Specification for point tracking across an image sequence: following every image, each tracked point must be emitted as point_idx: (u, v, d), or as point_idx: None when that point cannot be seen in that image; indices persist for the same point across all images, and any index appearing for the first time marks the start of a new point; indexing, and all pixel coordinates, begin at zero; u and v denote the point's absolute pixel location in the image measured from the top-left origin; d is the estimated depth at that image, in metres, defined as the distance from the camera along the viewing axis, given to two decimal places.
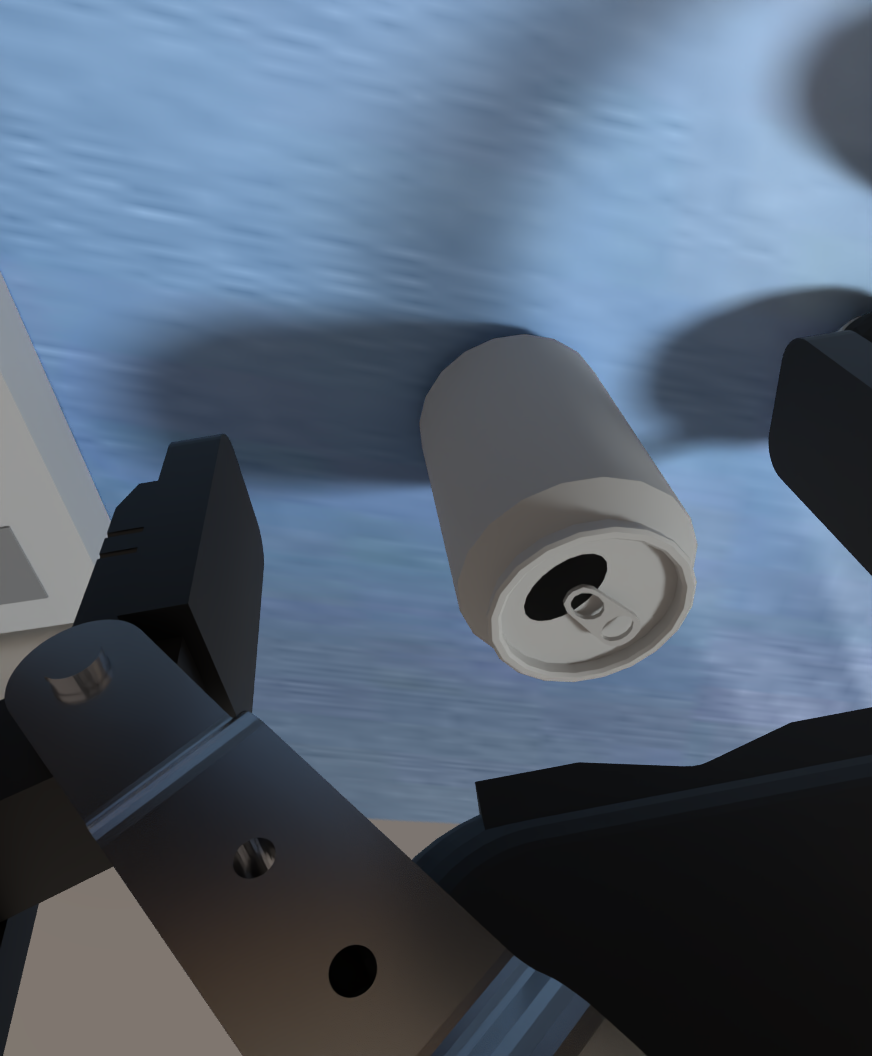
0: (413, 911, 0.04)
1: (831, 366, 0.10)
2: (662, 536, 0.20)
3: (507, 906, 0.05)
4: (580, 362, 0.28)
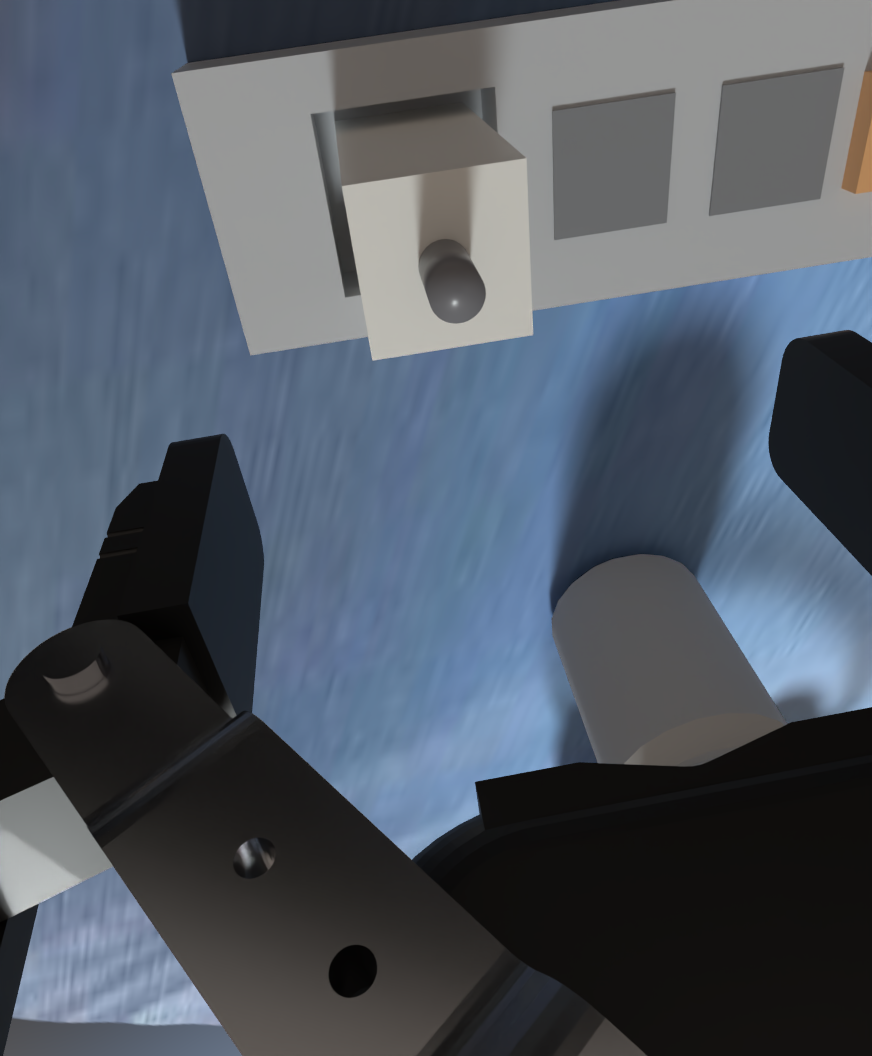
0: (415, 911, 0.04)
1: (831, 366, 0.10)
2: None
3: (508, 906, 0.05)
4: None
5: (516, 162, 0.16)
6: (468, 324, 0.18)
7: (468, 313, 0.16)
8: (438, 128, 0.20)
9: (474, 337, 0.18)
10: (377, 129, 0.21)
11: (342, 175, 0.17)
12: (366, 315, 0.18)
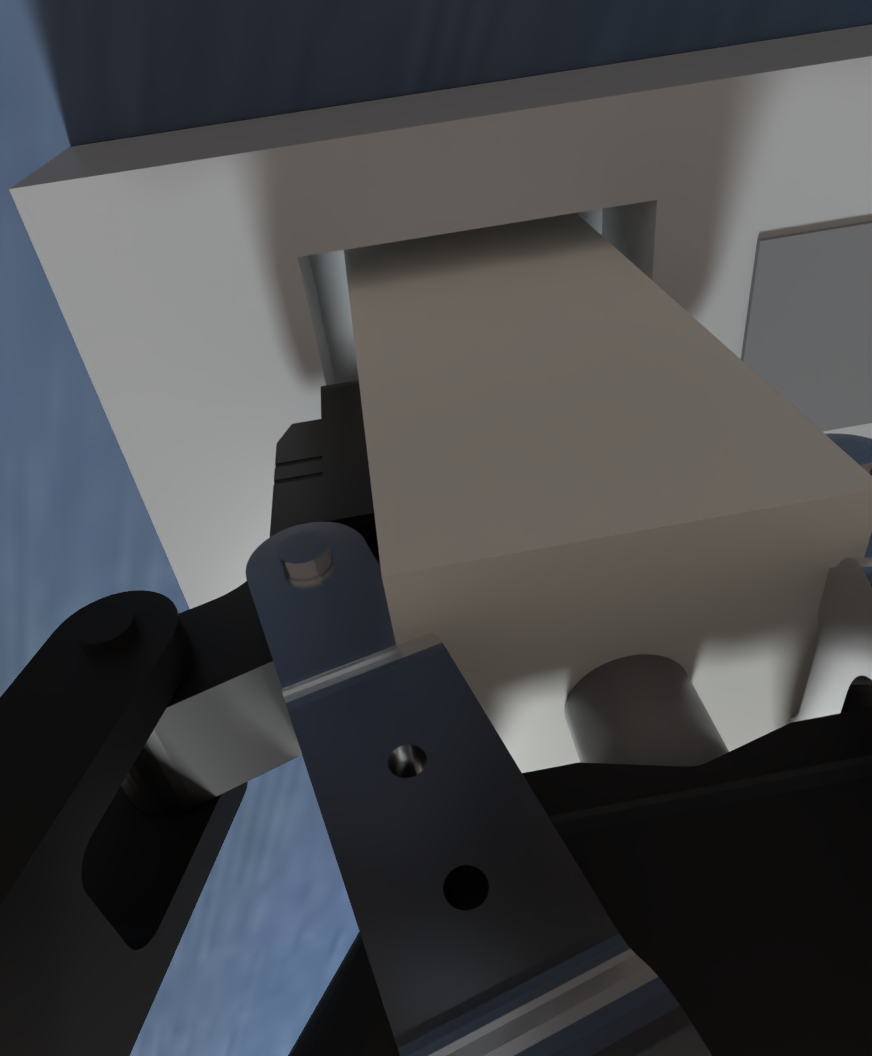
0: (535, 859, 0.04)
1: None
2: None
3: None
4: None
5: (853, 496, 0.06)
6: None
7: None
8: (557, 293, 0.10)
9: None
10: (429, 282, 0.11)
11: (377, 499, 0.07)
12: None
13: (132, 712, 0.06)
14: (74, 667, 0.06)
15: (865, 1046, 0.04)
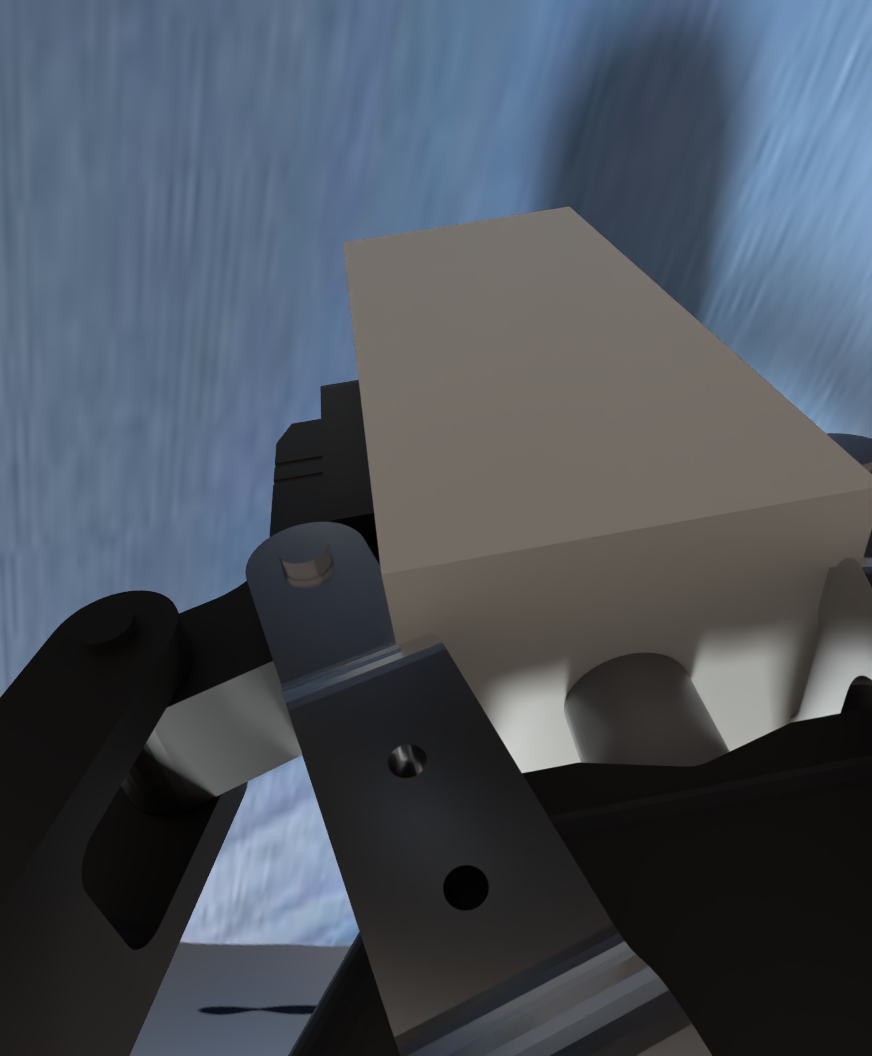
0: (535, 859, 0.04)
1: None
2: None
3: None
4: None
5: (853, 494, 0.06)
6: None
7: None
8: (557, 292, 0.10)
9: None
10: (428, 281, 0.11)
11: (377, 498, 0.07)
12: None
13: (133, 710, 0.06)
14: (74, 666, 0.06)
15: (866, 1047, 0.04)
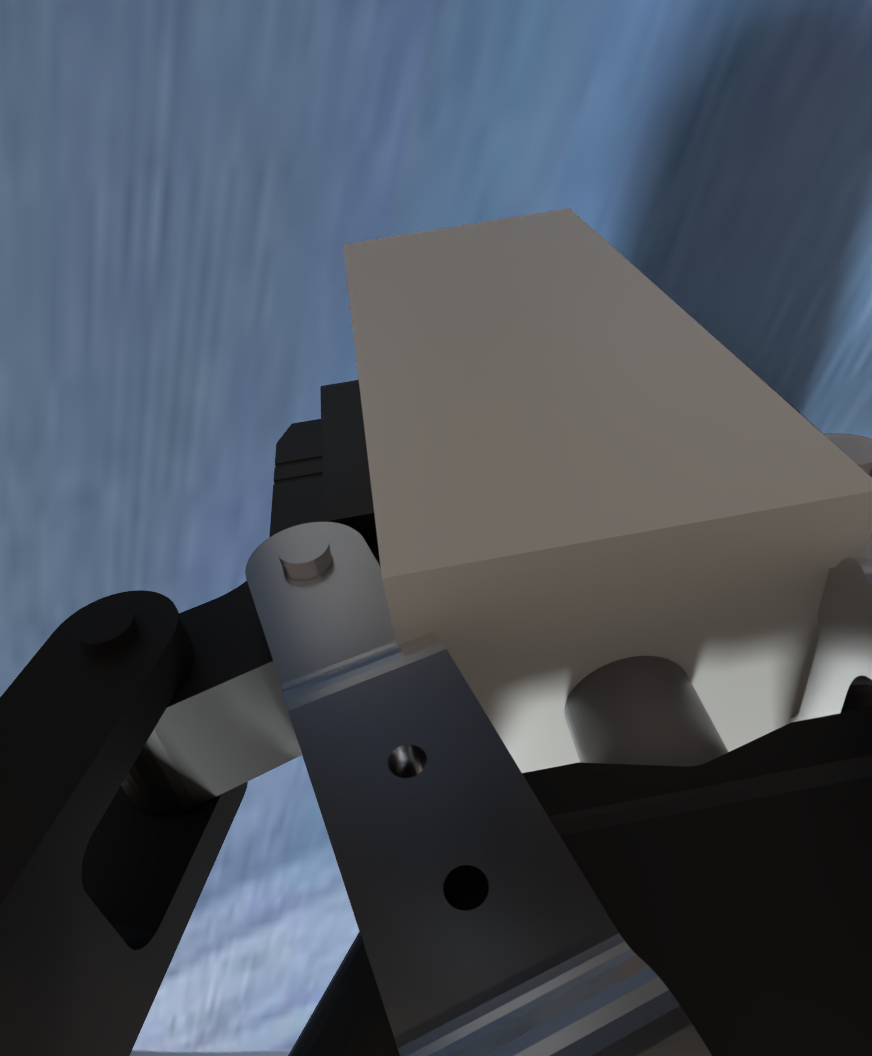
0: (533, 857, 0.04)
1: None
2: None
3: None
4: None
5: (853, 497, 0.06)
6: None
7: None
8: (557, 294, 0.10)
9: None
10: (429, 283, 0.11)
11: (377, 501, 0.07)
12: None
13: (132, 712, 0.06)
14: (74, 667, 0.06)
15: (865, 1046, 0.04)
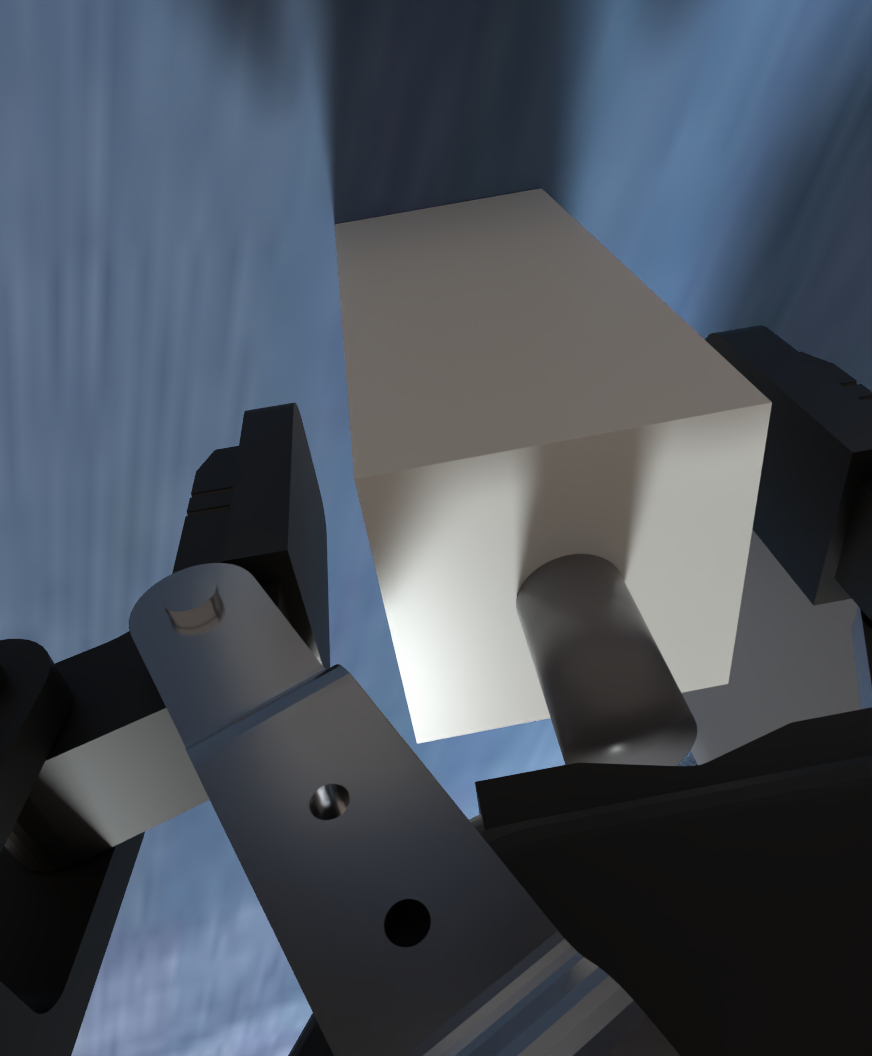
0: (472, 880, 0.04)
1: (739, 360, 0.10)
2: None
3: None
4: None
5: (747, 410, 0.07)
6: None
7: None
8: (522, 261, 0.11)
9: None
10: (409, 255, 0.12)
11: (354, 424, 0.08)
12: (406, 683, 0.09)
13: (10, 763, 0.06)
14: None
15: None
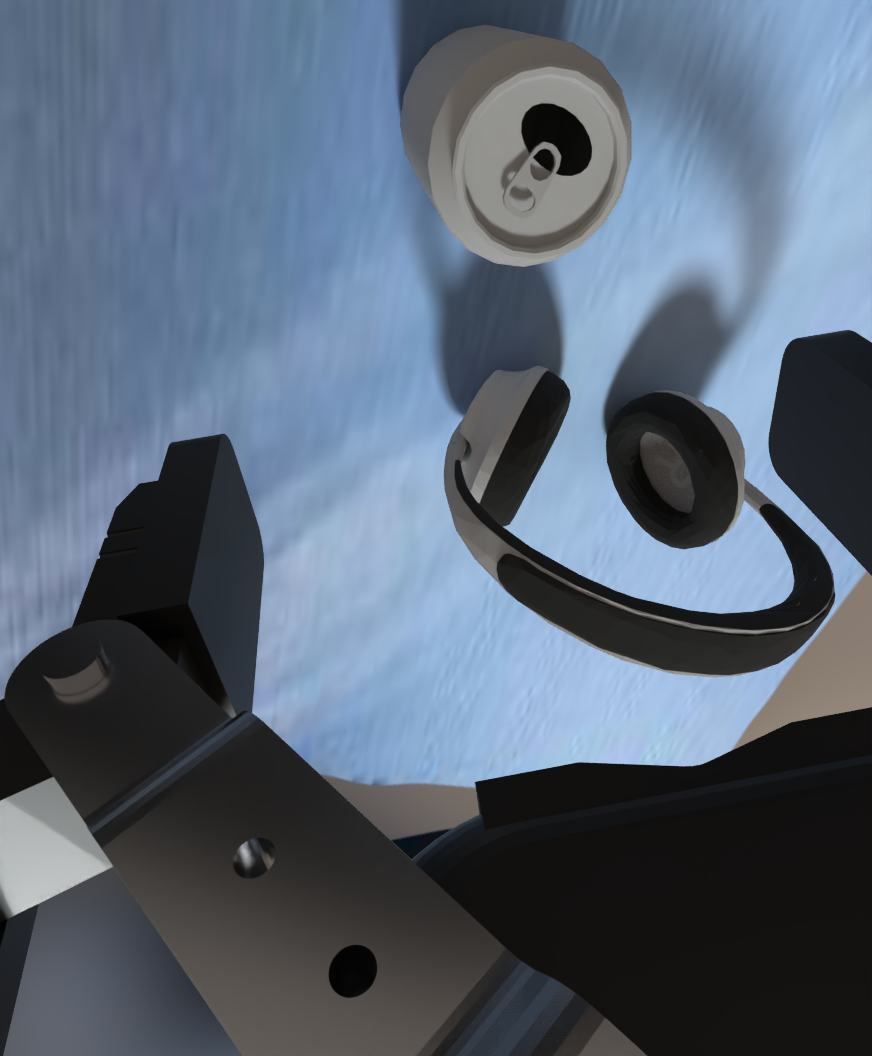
0: (413, 910, 0.04)
1: (831, 366, 0.10)
2: (611, 210, 0.27)
3: (508, 906, 0.05)
4: (551, 171, 0.35)
5: None
6: None
7: None
8: None
9: None
10: None
11: None
12: None
13: None
14: None
15: None
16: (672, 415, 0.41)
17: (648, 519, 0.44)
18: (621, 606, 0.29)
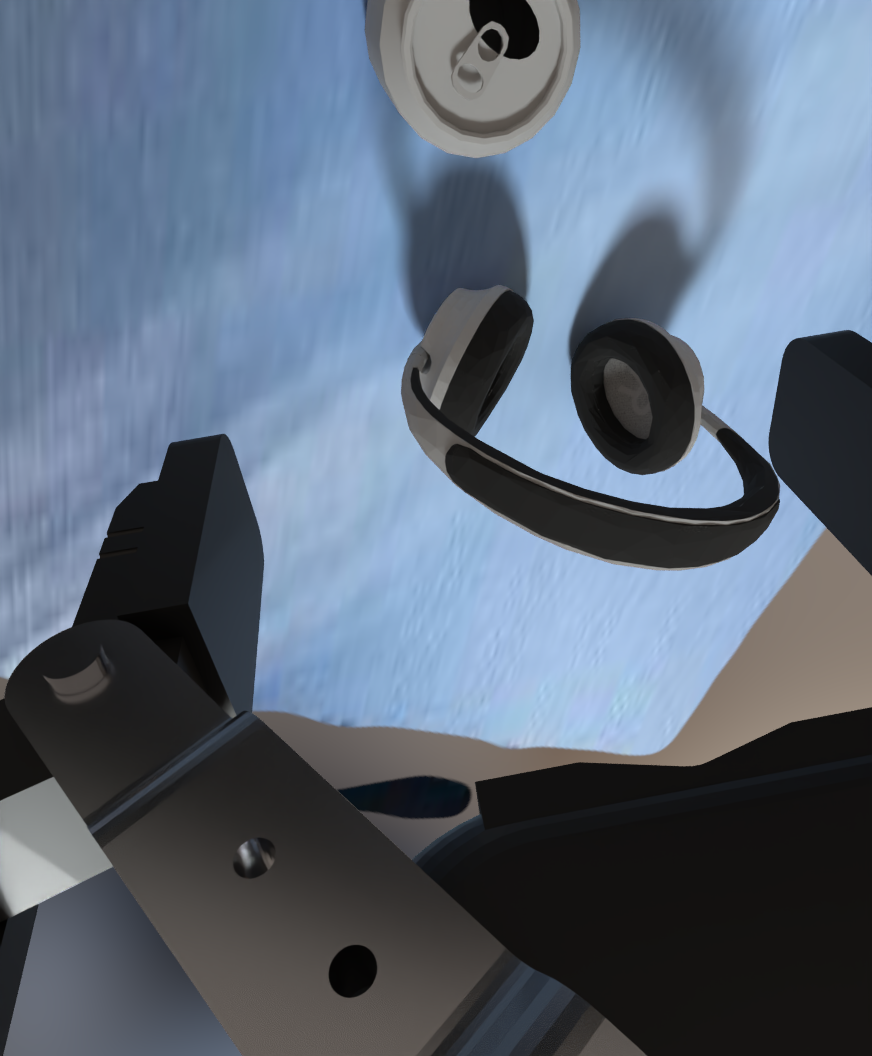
0: (413, 910, 0.04)
1: (831, 366, 0.10)
2: (558, 97, 0.28)
3: (508, 906, 0.05)
4: None
5: None
6: None
7: None
8: None
9: None
10: None
11: None
12: None
13: None
14: None
15: None
16: (632, 338, 0.41)
17: (609, 446, 0.44)
18: (562, 491, 0.29)
